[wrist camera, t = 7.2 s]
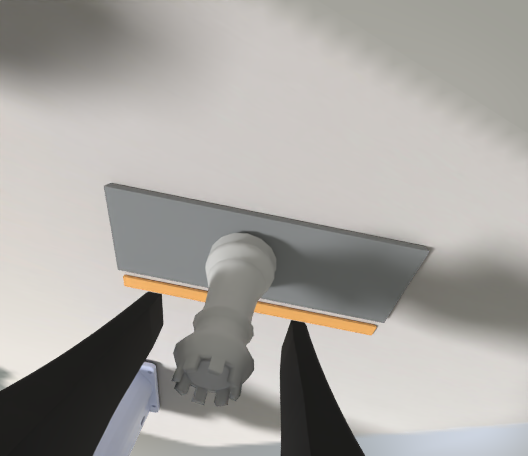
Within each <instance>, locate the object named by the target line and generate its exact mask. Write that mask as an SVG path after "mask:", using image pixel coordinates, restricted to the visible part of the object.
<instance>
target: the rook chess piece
mask: <svg viewBox="0 0 528 456" xmlns="http://www.w3.org/2000/svg"><path fill="white" fill-rule="evenodd" d="M205 269H206V275H207V281H208V286H209V289H208V293H207V297H206V302H205V306H204V308H203V310H202V311H200V312H199V313H198V314H196V315H195V318H194V321H193V326H194V333H192V334H190V335H189V336H187V337H185V338H184V339H183V340H181V341H180V342H178V343H177V344H176V347H175V349H174V352H173V354H174V358H175V362H176V365H177V369H176V371H175V373H174V376H173V379H172V381H175V382H177V383H176V385H175V389H176V390H177V391H178V392H179V393H180V394H181V395H184V394H187V392H188V389H189V386H190V385H191V386H193V387H195V388H196V390H195V393H194V396H193V399H192V401H193V402H196V403H199V404H202V405H204V403H205V399H206V396H207V392H213V393H216V396H215V400H214V403H215V405H216V406H223V405H228V400H229V398H230V399H232V400H235V401H236V400H237V399H238V397H239V396H240V393H241V387H242V384H243V383H244V382H245V381H246V380H247V379H248V378H249V376H250V375H251V374H252V372H253V371H254V360H253V358H252V356H251V354H250V353H249V351H248V349H247V347H246V345H247V344H248V343H249V342H250V341H251V339H252V337H253V336H254V334H253V326H252V325H251V321H252V316H253V313H254V310H255V307H256V304H257V301H258V300H259V299H260V298H262V296H263V294H264V293H266V292H267V291H268V289H269V287H270V286H271V284H272V282H273V280H274V274H275V271H276V257H275V255H274V253H273V250H272V248H271V247H270V246H269V245H268V244H266V243H265V242H264V241H263V240H262V239H260V238H258V237H255V236H253V235H250V234H248V233H232V234H229V235H226V236H223V237H221V238H220V239H219V240H218V241H216V242H215V243H214V244H213V245H212V248H211V251H210V253H209V256H208V259H207V261H206V266H205ZM229 395H230V397H229Z"/></svg>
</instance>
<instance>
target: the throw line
mask: <svg viewBox="0 0 528 456" xmlns="http://www.w3.org/2000/svg"><path fill="white" fill-rule="evenodd" d="M123 279H124V285H125V286H127V287H132V288H137V289H142V290H147V291H152V292H157V293H162V294H167V295H172V296H177V297H182V298H187V299H192V300H197V301H202V302H206V297H207V293H208V291H203V290H198V289H193V288H188V287H183V286H178V285H173V284H168V283H163V282H158V281H153V280H148V279H143V278H138V277H133V276H128V275H124V276H123ZM254 312H257V313H262V314H267V315H272V316H277V317H282V318H287V319H292V320H297V321H302V322H307V323H312V324H317V325H322V326H327V327H332V328H337V329H342V330H347V331H352V332H357V333H362V334H367V335H372V334H373V332H374V331H375V329H376V325H373V324H368V323H363V322H358V321H353V320H348V319H343V318H338V317H333V316H328V315H323V314H318V313H313V312H308V311H303V310H298V309H293V308H288V307H283V306H278V305H273V304H268V303H263V302H258V301H257V304H256V307H255V310H254Z"/></svg>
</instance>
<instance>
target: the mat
mask: <svg viewBox="0 0 528 456" xmlns="http://www.w3.org/2000/svg"><path fill="white" fill-rule="evenodd" d="M104 190H105V196H106V202H107V208H108V214H109V220H110V226H111V231H112V237H113V243H114V249H115V255H116V261H117V267H118V270H122V271H127V272H132V273H137V274H142V275H147V276H152V277H157V278H162V279H167V280H172V281H177V282H182V283H187V284H192V285H197V286H202V287H207V288H209V286H208V281H207V275H206V269H205V266H206V261H207V259H208V256H209V253H210V251H211V248H212V245H213V244H214V243H215V242H216V241H218V240H219V239H220V238H221V237H223V236H226V235H229V234H232V233H248V234H250V235H253V236H255V237H258V238H260V239H262V240H263V241H264V242H265V243H266V244H268V245H269V246H270V247H271V248H272V250H273V253H274V255H275V257H276V271H275V274H274V280H273V282H272V284H271V286H270V287H269V289H268V291H267V292H266V293H264V294H263V296H262V299H267V300H272V301H277V302H282V303H287V304H292V305H297V306H302V307H307V308H312V309H317V310H322V311H327V312H332V313H337V314H342V315H346V316H351V317H356V318H361V319H366V320H371V321H376V322H381V323H384V322H385V321H386V319H387V318H388V316H389V314H390V313H391V311H392V310H393V308H394V307H395V305H396V304H397V302H398V300H399V299H400V297H401V296H402V294H403V293H404V291H405V289H406V288H407V286H408V285H409V283H410V282H411V280H412V279H413V277H414V275H415V274H416V272H417V271H418V269H419V268H420V266H421V265H422V263H423V261H424V260H425V258H426V257H427V255H428V254H429V252H430V251H429V250H428V249H427V248H426V247H425V246H421V245H417V244H412V243H407V242H402V241H397V240H392V239H387V238H382V237H377V236H372V235H367V234H362V233H357V232H352V231H347V230H342V229H337V228H332V227H327V226H322V225H317V224H312V223H307V222H302V221H297V220H292V219H287V218H282V217H277V216H272V215H267V214H262V213H257V212H252V211H247V210H242V209H237V208H232V207H227V206H222V205H217V204H212V203H207V202H202V201H197V200H192V199H187V198H182V197H178V196H173V195H168V194H163V193H158V192H153V191H148V190H143V189H138V188H133V187H128V186H123V185H118V184H113V183H110V184H107V185H105V186H104Z"/></svg>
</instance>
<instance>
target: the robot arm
mask: <svg viewBox="0 0 528 456" xmlns="http://www.w3.org/2000/svg"><path fill="white" fill-rule="evenodd" d="M162 326H163V308H162V294H158V293H153V292H147V293H145V294H144V295H143V296H142V297H140V298H139V299H138V300H137V301H135V302H134V303H133V304H132V305H130V306H129V307H128V308H126V309H125V310H124V311H123V312H121V313H120V314H119V315H117V316H116V317H115V318H113V319H112V320H111V321H109V322H108V323H107V324H105V325H104V326H103V327H101V328H100V329H98V330H97V331H96V332H94V333H93V334H91V335H90V336H89V337H87V338H86V339H84V340H83V341H81V342H80V343H78V344H77V345H75V346H74V347H73V348H71V349H70V350H68V351H67V352H65V353H63V354H62V355H60V356H59V357H57V358H56V359H54V360H53V361H51V362H49V363H48V364H46V365H44V366H43V367H41V368H40V369H38V370H36V371H35V372H33V373H31V374H29V375H28V376H26V377H24V378H23V379H21V380H19V381H17V382H16V383H14V384H12V385H10V386H9V387H7V388H5V389H3V390H1V391H0V456H129V455H130V453H131V451H132V449H133V446H134V444H135V442H136V440H137V438H138V435H139V433H140V431H141V429H142V427H143V424H144V422H145V420H146V418H147V416H148V413H149V411H150V412H158V411H159V408H160V406H159V395H158V384H157V373H156V366H155V365H154V364H153V363H148V362H144V361H145V360H146V358H147V356H148V355H149V353H150V351H151V350H152V348H153V346H154V344H155V342H156V340H157V337H158V335H159V333H160V331H161V329H162ZM280 405H281V456H365V455H364V453H363V451H362V449H361V448H360V446H359V444H358V442H357V441H356V439H355V437H354V435H353V433H352V431H351V429H350V428H349V426H348V424H347V422H346V420H345V418H344V416H343V414H342V412H341V410H340V408H339V406H338V404H337V402H336V400H335V398H334V395H333V393H332V391H331V389H330V387H329V384H328V382H327V380H326V377H325V375H324V373H323V370H322V368H321V365H320V363H319V360H318V358H317V355H316V353H315V350H314V347H313V344H312V342H311V339H310V336H309V332H308V329H307V326H306V324H305V323H303V322H298V321H293V320H291V322H290V325H289V328H288V331H287V334H286V337H285V340H284V343H283V346H282V350H281V363H280Z"/></svg>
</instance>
